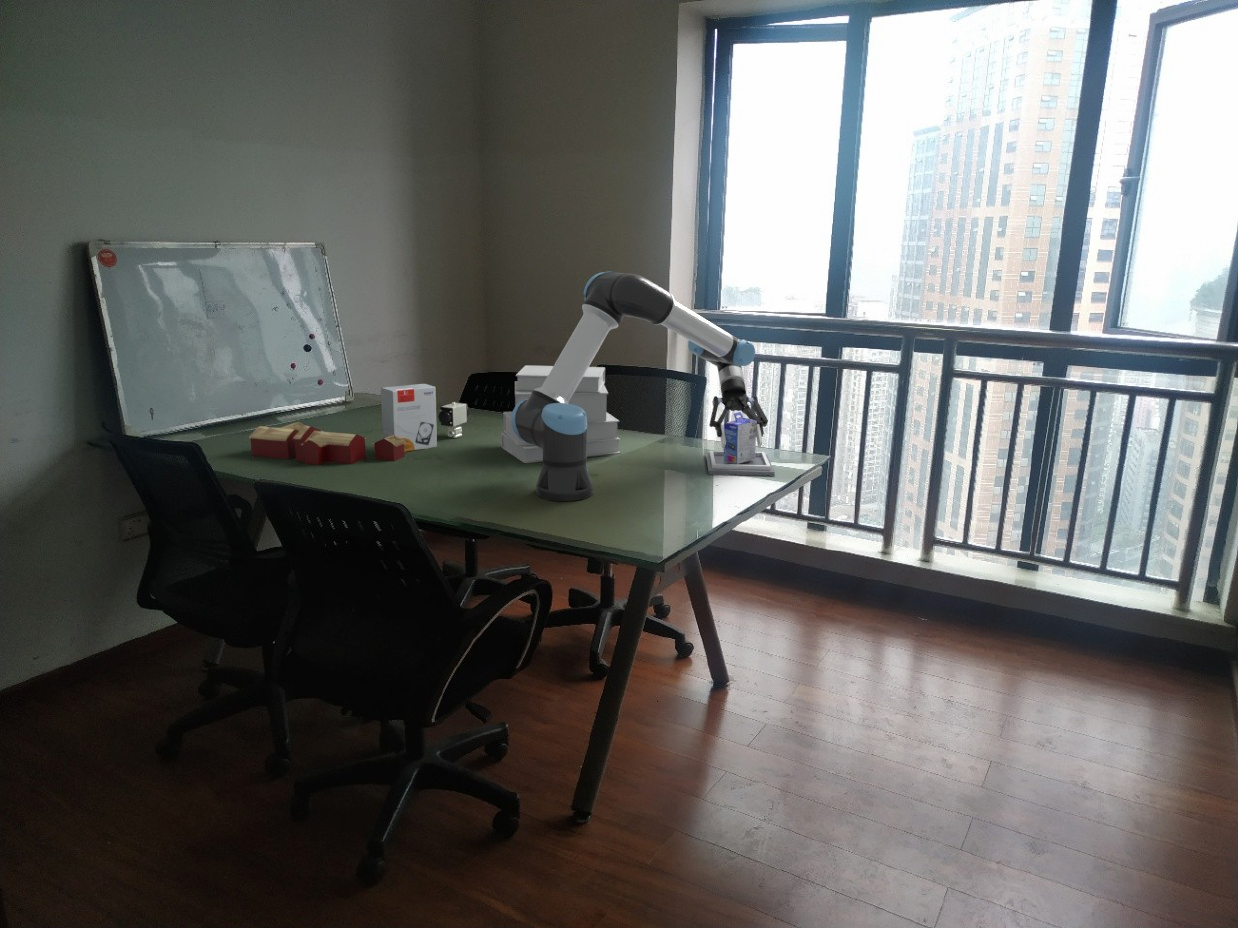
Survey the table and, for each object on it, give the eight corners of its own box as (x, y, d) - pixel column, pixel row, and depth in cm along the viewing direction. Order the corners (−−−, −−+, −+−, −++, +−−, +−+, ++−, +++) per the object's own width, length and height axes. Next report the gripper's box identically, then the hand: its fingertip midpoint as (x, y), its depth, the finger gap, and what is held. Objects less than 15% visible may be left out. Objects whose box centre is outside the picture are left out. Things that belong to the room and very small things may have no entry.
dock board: (708, 474, 252) (709, 466, 251) (706, 456, 272) (706, 448, 272) (774, 476, 251) (774, 468, 250) (766, 458, 271) (767, 450, 271)
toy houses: (246, 458, 262) (242, 425, 260) (289, 443, 281) (286, 413, 279) (377, 471, 250) (375, 437, 247) (412, 455, 269) (411, 423, 267)
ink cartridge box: (741, 456, 267) (743, 409, 263) (756, 459, 263) (758, 412, 259) (721, 461, 260) (724, 414, 256) (737, 465, 256) (739, 417, 252)
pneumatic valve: (470, 434, 297) (469, 399, 294) (450, 441, 286) (449, 405, 283) (457, 432, 299) (456, 398, 296) (436, 439, 289) (435, 404, 286)
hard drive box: (393, 454, 269) (390, 391, 264) (382, 449, 274) (379, 387, 269) (438, 447, 279) (435, 386, 273) (426, 442, 284) (424, 382, 279)
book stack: (493, 445, 283) (491, 367, 276) (590, 436, 297) (591, 361, 291) (524, 467, 257) (523, 381, 250) (630, 456, 271) (631, 375, 265)
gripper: (765, 391, 273) (776, 451, 262) (694, 391, 270) (702, 452, 259) (771, 377, 266) (782, 438, 255) (698, 377, 263) (706, 439, 252)
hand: (742, 445), depth 257 cm, fingers closed on ink cartridge box, 10 cm apart
